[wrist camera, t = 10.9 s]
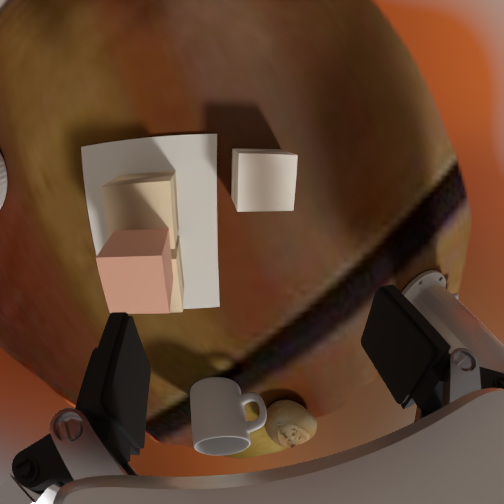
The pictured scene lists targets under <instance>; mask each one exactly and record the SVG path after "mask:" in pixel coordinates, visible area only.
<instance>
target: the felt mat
mask: <svg viewBox="0 0 504 504" xmlns="http://www.w3.org/2000/svg"><path fill="white" fill-rule="evenodd" d="M81 153H82V166H83V177H84V186H85V194H86V201H87V208H88V214H89V220H90V226H91V231H92V236H93V241H94V246H95V251H96V255H98V254H99V252H100V251H101V249H102V248H103V246H104V245H105V243H106V242H107V240H108V239H109V236H108V230H107V224H106V218H105V211H104V204H103V196H102V186H104V185H105V184H106V183H108V182H109V181H111V180H112V179H114V178H115V177H117V176H118V175H128V174H138V173H150V172H163V171H176V186H177V206H178V221H179V230H178V236H177V237H180V247H181V258H182V268H183V278H184V299H183V309H190V308H209V307H220V304H219V278H218V243H217V134H191V135H173V136H159V137H148V138H138V139H129V140H121V141H114V142H107V143H100V144H94V145H88V146H83V147H81Z"/></svg>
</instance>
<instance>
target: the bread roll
mask: <svg viewBox="0 0 504 504" xmlns="http://www.w3.org/2000/svg"><path fill="white" fill-rule="evenodd" d="M266 412H267V419H266V422H265V429H266V431H267V433H268V435H269V437H270V438H271V439H272V440H273V441H274V442H275V443H277V444H278V445H280V446H283V447H294V446H295V445H298V444H302V443H303V442H305V441H307V440H309V439H311V438H312V437H313V435H314V434H315V433H316V429H317V421H316V419H315V417H314V416H313V415H312V414H311V413H310V412H309V411H308V410H307V409H306V408H304V407H303V406H302V405H300V404H298V403H296V402H294V401H292V400H278V401H276V402H274V403H273V404H271V405H270V406H269V407H268V409H267V411H266Z"/></svg>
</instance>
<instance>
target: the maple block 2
mask: <svg viewBox="0 0 504 504" xmlns="http://www.w3.org/2000/svg"><path fill="white" fill-rule="evenodd" d="M171 259H172V269H173V287H172V295H171V304H170V312H183V299H184V278H183V268H182V258H181V247H180V237H177V241H176V247H175V249H171Z"/></svg>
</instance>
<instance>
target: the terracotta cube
mask: <svg viewBox="0 0 504 504" xmlns="http://www.w3.org/2000/svg"><path fill="white" fill-rule="evenodd" d="M96 261H97V266H98V270H99V274H100V278H101V282H102V286H103V290H104V294H105V297H106V301H107V304H108V308H109V311H110V313H112V312H126V313H127V314H149V313H170V304H171V295H172V287H173V269H172V259H171V248H170V235H169V228H167V229H143V230H121V231H114V232H113V233H112V235H111V236H110V237H109V239H108V240H107V242H106V243H105V245H104V246H103V248H102V249H101V251H100V252H99V254H98V255H97V257H96Z"/></svg>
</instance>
